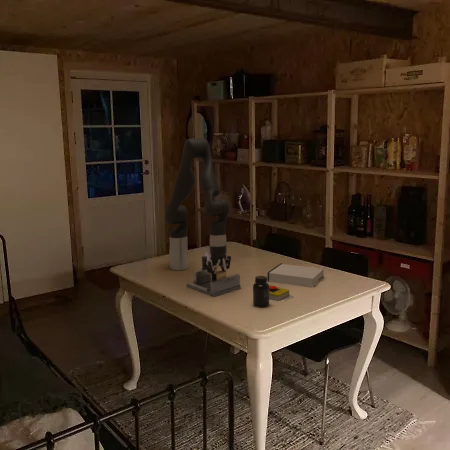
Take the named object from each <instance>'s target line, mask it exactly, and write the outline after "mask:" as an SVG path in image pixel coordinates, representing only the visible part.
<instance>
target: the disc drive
mask: <svg viewBox="0 0 450 450" xmlns="http://www.w3.org/2000/svg"><path fill="white" fill-rule="evenodd" d="M324 272H325V269H324V268H320V267H311V266H303V265H301V266H300V265H295V264H293V265H292V264H288V263H287V264H284V263H279V264H277V266H275V267H273V268H272V269H270V270H269V271H268V272H267V273H266V274H267V276H266V277H267V283H268V282H270V283H277V284H285V285H290V286H299V287H305V288H312V287H313V288H314V287H315V286H316V285H317V284H318V283H319V282H321V280H322V279H324V275H325V274H324Z"/></svg>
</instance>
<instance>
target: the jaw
mask: <svg viewBox="0 0 450 450" xmlns="http://www.w3.org/2000/svg"><path fill="white" fill-rule="evenodd" d="M206 260H207V261H208V256H207V255H203V256H201V267H202V268H201V269H197V270H194V271H193V274H192V275H193V282H194V283H195V284H200V283H204V282H207V281H211V273H208V272H207V267H206V263H205V261H206Z"/></svg>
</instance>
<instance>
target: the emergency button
mask: <svg viewBox="0 0 450 450" xmlns="http://www.w3.org/2000/svg"><path fill="white" fill-rule="evenodd" d="M290 298H291V299H292V298H294V295H291V294H290V290H289V289H288V288H285V287H280V286H275V285H272V284H271V285H270V284H269V300H271V301H275V300H276V301H275V302H278V301H282V300H285V299H286V300H285V301H284V302H286V301H288V300H287V299H289V300H290Z"/></svg>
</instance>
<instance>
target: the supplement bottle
mask: <svg viewBox="0 0 450 450" xmlns="http://www.w3.org/2000/svg"><path fill="white" fill-rule="evenodd" d="M254 280H255V282H254V283H253V284H252V304H253V306H255V307H257V308H266V307H269V305H270V299H269V285H270V284H269V283H268V281H267V276H265V275H256V276H255V279H254Z"/></svg>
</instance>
